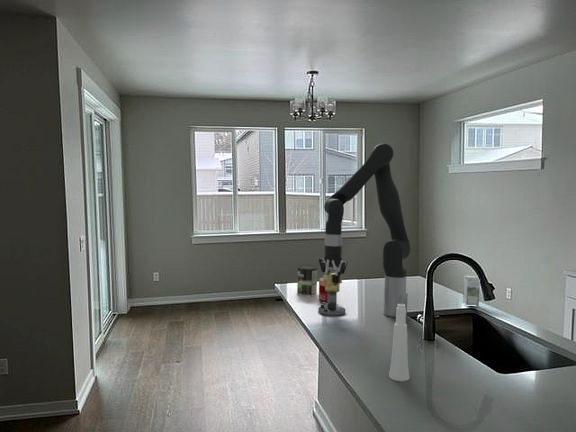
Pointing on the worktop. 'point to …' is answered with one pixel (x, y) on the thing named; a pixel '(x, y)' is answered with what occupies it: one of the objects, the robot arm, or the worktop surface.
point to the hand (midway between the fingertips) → (332, 282)
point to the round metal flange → (331, 306)
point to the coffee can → (307, 280)
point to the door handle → (330, 282)
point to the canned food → (322, 293)
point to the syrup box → (471, 290)
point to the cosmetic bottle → (399, 347)
